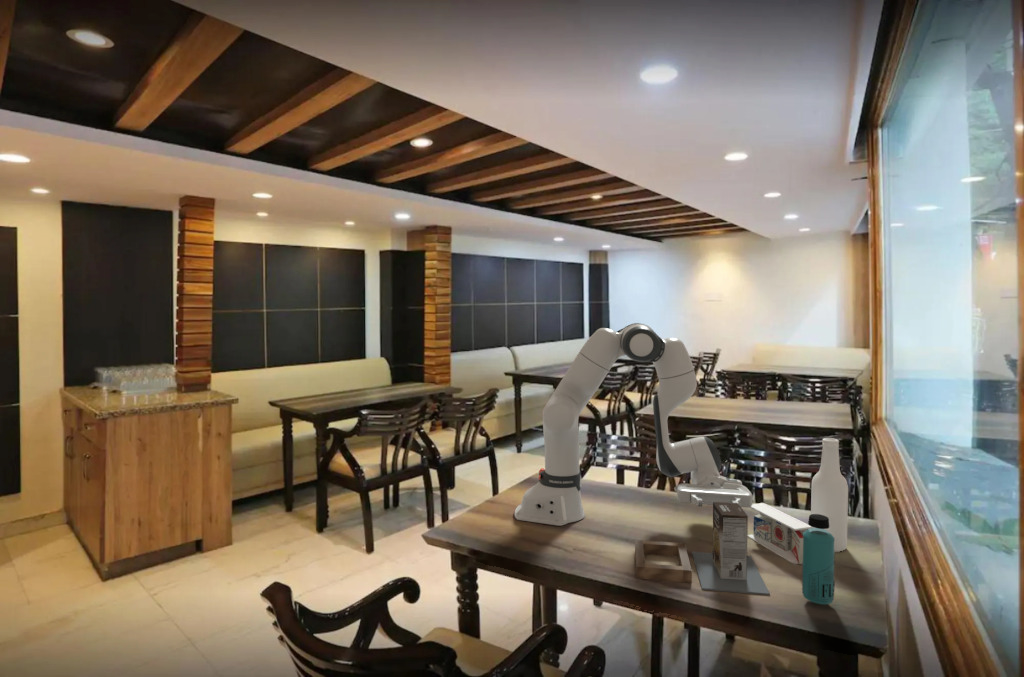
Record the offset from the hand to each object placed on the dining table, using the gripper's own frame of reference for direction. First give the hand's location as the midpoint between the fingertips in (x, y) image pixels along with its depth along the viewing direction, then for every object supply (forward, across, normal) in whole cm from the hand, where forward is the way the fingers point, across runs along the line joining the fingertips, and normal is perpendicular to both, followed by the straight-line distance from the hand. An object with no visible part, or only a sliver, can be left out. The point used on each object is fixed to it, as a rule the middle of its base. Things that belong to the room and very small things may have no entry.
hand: (717, 505), depth 154 cm
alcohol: (-8, +31, +12) cm, 34 cm away
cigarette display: (-4, +17, +13) cm, 22 cm away
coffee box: (+13, +1, +12) cm, 18 cm away
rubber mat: (+13, +1, +13) cm, 18 cm away
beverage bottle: (+25, +18, +13) cm, 33 cm away
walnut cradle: (+12, -15, +13) cm, 23 cm away
